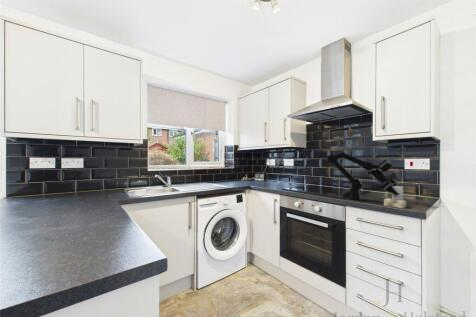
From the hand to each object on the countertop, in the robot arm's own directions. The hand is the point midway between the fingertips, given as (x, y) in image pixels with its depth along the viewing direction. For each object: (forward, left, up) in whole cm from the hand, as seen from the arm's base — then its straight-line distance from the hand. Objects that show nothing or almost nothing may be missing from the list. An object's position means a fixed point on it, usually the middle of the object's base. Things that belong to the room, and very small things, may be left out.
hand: (399, 194), depth 137 cm
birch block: (-1, -8, -7) cm, 11 cm away
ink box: (-1, 0, -7) cm, 7 cm away
